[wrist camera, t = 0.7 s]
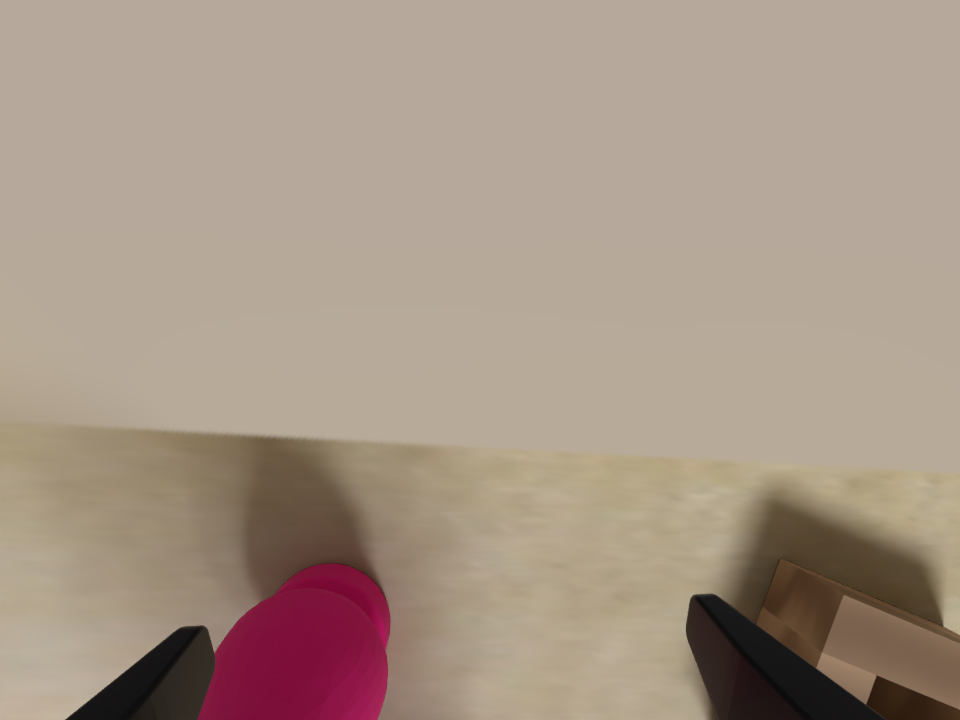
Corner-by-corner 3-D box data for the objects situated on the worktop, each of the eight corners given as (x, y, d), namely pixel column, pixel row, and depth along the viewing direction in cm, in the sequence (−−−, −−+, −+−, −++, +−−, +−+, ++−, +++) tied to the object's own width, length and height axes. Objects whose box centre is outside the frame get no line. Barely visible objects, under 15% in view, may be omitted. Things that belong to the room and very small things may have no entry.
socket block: (881, 803, 24) (964, 888, 20) (712, 735, 24) (763, 808, 20) (944, 627, 25) (1038, 676, 21) (780, 558, 24) (843, 594, 20)
